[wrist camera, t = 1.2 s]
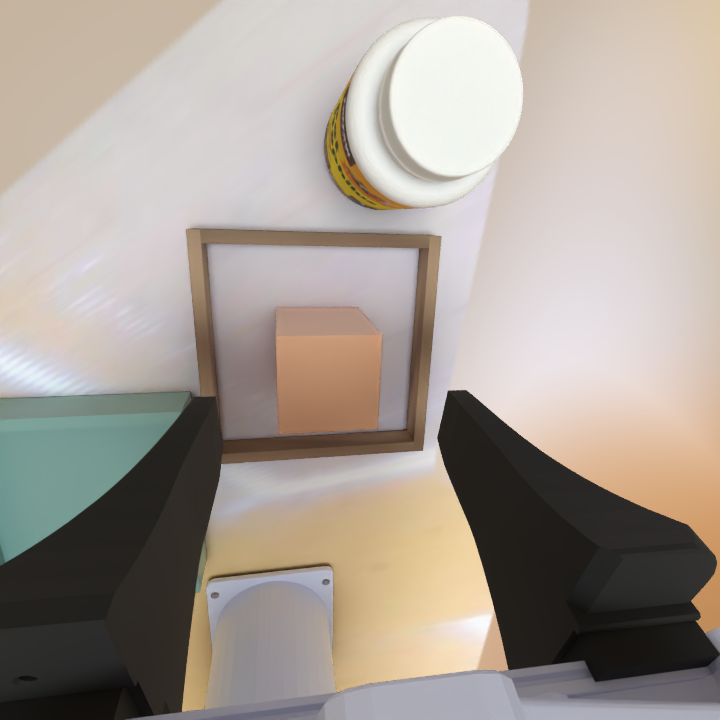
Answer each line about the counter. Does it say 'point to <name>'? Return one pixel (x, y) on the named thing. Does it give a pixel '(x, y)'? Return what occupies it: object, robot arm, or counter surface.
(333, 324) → the terracotta block
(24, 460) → the teal tray
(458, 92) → the supplement bottle
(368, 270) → the counter surface
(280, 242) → the walnut frame
